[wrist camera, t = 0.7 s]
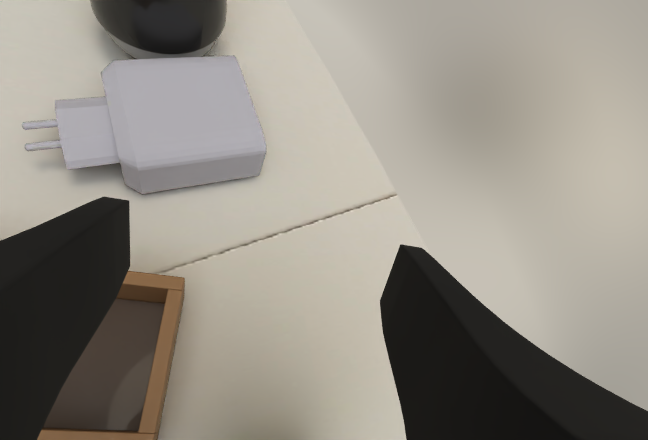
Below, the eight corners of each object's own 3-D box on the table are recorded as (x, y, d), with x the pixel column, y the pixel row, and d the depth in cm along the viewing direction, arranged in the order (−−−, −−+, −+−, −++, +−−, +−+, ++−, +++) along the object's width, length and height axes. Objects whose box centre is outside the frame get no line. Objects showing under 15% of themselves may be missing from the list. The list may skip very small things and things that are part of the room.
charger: (28, 105, 31) (228, 90, 37) (42, 215, 28) (258, 180, 34) (4, 56, 27) (234, 48, 33) (19, 179, 24) (268, 146, 30)
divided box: (155, 448, 24) (151, 451, 21) (-227, 437, 20) (-310, 439, 17) (184, 295, 29) (184, 277, 25) (-129, 260, 24) (-180, 232, 21)
